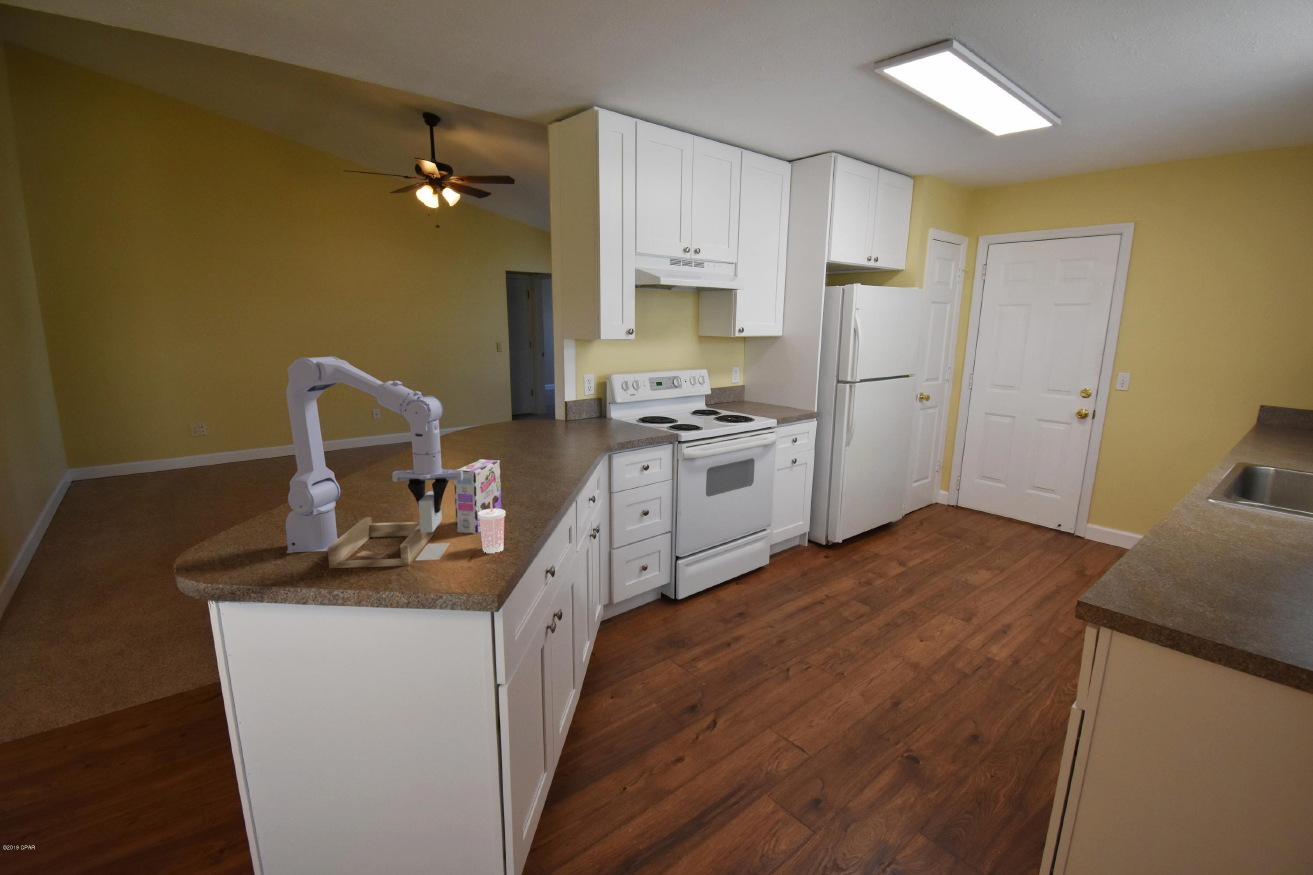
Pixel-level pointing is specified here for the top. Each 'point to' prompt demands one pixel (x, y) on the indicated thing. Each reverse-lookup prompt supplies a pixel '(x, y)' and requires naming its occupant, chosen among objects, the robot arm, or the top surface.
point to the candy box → (476, 493)
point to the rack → (368, 529)
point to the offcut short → (370, 556)
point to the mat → (432, 551)
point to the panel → (428, 513)
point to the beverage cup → (492, 528)
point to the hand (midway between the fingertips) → (430, 511)
